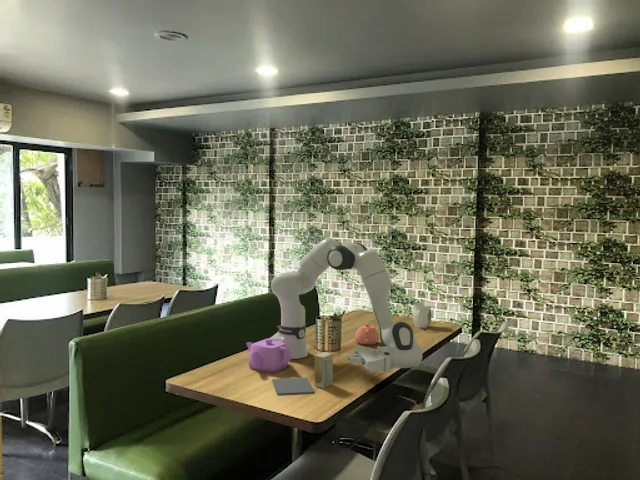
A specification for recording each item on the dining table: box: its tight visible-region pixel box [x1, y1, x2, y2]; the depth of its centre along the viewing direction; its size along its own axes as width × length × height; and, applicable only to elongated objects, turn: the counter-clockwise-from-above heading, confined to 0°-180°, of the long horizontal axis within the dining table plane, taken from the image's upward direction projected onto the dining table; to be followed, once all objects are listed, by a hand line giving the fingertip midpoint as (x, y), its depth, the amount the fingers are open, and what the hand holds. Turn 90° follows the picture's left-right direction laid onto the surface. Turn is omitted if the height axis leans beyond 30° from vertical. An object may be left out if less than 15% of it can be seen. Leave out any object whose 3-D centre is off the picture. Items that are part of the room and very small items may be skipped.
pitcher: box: [412, 301, 432, 329], centre depth 305 cm, size 11×18×14 cm, turn 157°
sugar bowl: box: [354, 322, 380, 346], centre depth 265 cm, size 12×14×10 cm
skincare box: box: [314, 351, 334, 389], centre depth 202 cm, size 6×4×12 cm
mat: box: [271, 377, 316, 396], centre depth 200 cm, size 14×16×1 cm
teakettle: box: [245, 337, 291, 374], centre depth 223 cm, size 17×17×12 cm
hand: (348, 359), depth 204 cm, fingers closed
